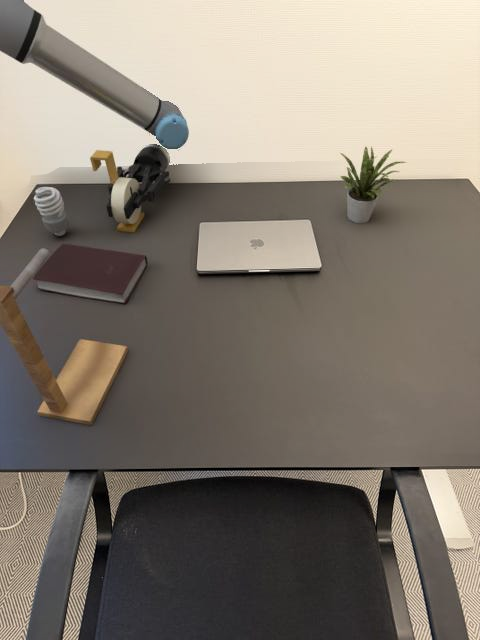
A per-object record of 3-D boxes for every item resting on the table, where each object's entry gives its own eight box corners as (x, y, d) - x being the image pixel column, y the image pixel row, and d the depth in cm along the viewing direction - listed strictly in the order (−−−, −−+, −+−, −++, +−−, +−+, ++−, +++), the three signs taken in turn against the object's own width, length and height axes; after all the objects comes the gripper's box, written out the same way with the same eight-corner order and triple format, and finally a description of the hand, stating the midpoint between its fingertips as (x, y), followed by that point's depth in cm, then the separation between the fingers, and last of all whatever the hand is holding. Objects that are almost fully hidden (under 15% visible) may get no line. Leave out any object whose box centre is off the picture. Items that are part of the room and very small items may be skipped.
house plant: (406, 228, 107) (425, 162, 95) (353, 243, 104) (367, 176, 92) (372, 197, 116) (385, 133, 104) (322, 209, 113) (331, 144, 101)
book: (66, 252, 103) (62, 240, 101) (148, 264, 100) (146, 252, 97) (36, 290, 95) (31, 278, 92) (125, 305, 91) (122, 293, 89)
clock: (102, 233, 108) (82, 164, 96) (118, 209, 115) (101, 142, 102) (131, 236, 107) (115, 167, 94) (146, 212, 113) (132, 144, 101)
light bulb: (77, 229, 109) (62, 182, 100) (67, 243, 105) (50, 197, 97) (55, 227, 110) (38, 180, 101) (44, 241, 106) (25, 194, 97)
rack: (39, 415, 75) (-33, 297, 56) (81, 343, 85) (33, 223, 66) (92, 425, 73) (36, 308, 54) (128, 350, 84) (92, 229, 65)
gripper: (186, 176, 119) (155, 230, 103) (125, 171, 122) (87, 223, 106) (182, 148, 114) (150, 201, 98) (119, 143, 116) (78, 193, 101)
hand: (117, 212), depth 102 cm, fingers closed on clock, 3 cm apart
